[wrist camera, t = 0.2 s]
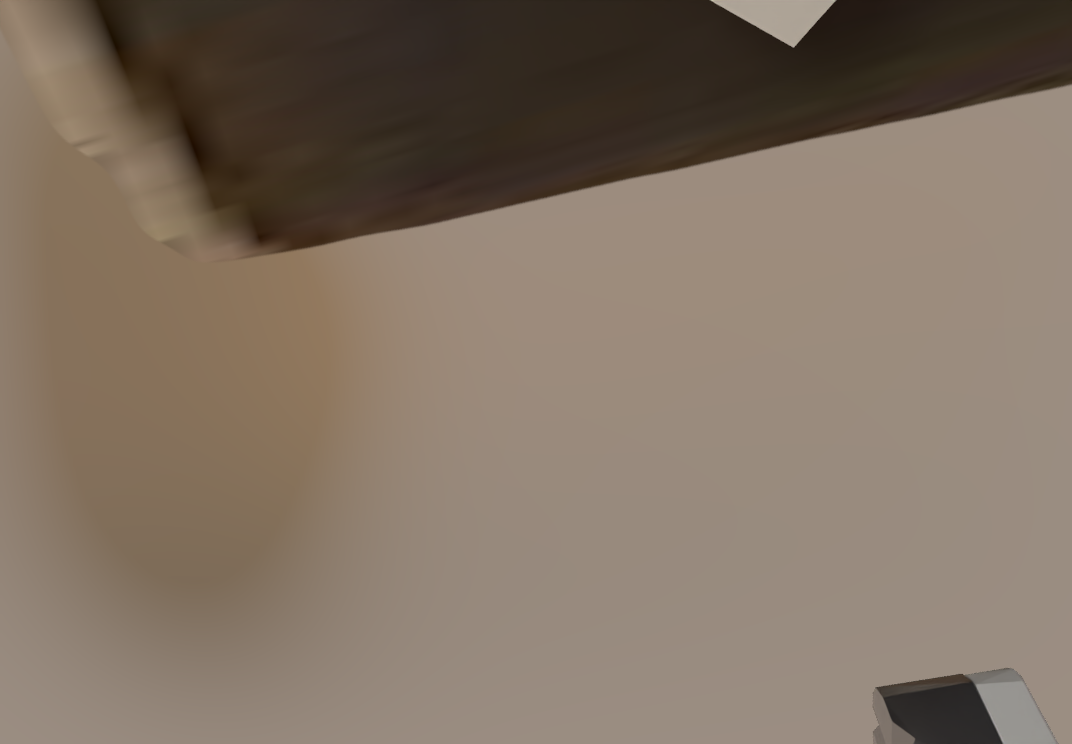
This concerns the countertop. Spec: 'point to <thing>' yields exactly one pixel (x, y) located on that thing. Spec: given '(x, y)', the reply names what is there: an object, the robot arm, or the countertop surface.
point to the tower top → (779, 15)
